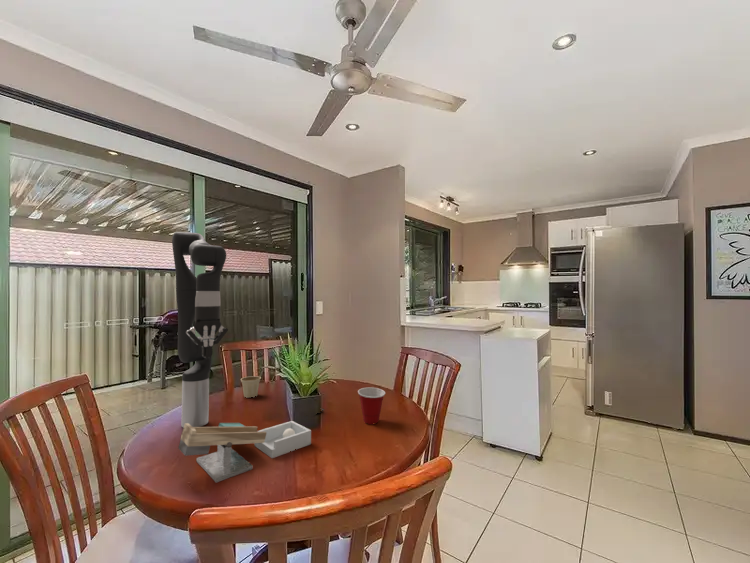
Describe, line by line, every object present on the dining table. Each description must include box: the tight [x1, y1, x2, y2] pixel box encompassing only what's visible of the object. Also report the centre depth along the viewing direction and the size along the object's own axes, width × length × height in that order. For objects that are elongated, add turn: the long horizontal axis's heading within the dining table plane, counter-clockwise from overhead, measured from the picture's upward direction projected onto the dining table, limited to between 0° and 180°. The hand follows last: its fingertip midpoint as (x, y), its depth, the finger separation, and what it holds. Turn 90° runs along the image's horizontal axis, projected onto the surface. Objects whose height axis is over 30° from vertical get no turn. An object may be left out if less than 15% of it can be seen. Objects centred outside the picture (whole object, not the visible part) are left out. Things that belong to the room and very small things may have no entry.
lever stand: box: [196, 445, 253, 484], centre depth 99 cm, size 16×10×6 cm, turn 44°
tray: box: [253, 420, 312, 459], centre depth 112 cm, size 12×14×4 cm
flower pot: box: [240, 375, 262, 399], centre depth 166 cm, size 9×9×9 cm
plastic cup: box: [357, 386, 386, 425], centre depth 132 cm, size 11×11×12 cm
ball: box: [283, 428, 295, 438], centre depth 113 cm, size 4×4×4 cm
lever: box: [178, 422, 267, 457], centre depth 103 cm, size 20×22×6 cm
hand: (206, 357), depth 111 cm, fingers closed
